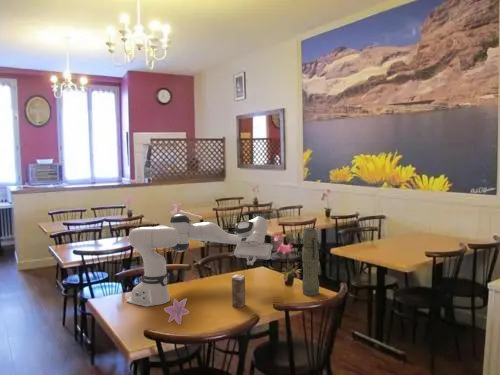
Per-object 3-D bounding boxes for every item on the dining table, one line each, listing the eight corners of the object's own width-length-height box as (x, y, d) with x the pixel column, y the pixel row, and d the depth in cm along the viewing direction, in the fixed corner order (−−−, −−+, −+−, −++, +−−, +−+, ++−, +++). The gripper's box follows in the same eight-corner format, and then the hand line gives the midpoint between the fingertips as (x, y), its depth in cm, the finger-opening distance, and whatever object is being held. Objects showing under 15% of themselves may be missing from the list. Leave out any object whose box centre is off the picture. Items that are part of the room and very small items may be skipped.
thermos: (310, 289, 241) (310, 226, 238) (324, 294, 231) (323, 229, 228) (297, 291, 237) (296, 228, 234) (310, 297, 226) (310, 231, 224)
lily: (163, 319, 203) (158, 306, 198) (183, 305, 209) (179, 291, 204) (177, 334, 195) (172, 320, 190) (198, 318, 201) (194, 304, 196)
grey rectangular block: (232, 306, 215) (231, 277, 214) (236, 303, 220) (235, 274, 219) (241, 307, 214) (241, 278, 213) (245, 304, 218) (244, 275, 217)
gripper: (274, 246, 238) (269, 269, 229) (240, 244, 245) (233, 266, 237) (272, 240, 233) (266, 262, 225) (237, 238, 240) (230, 260, 232)
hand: (249, 264), depth 231 cm, fingers closed
